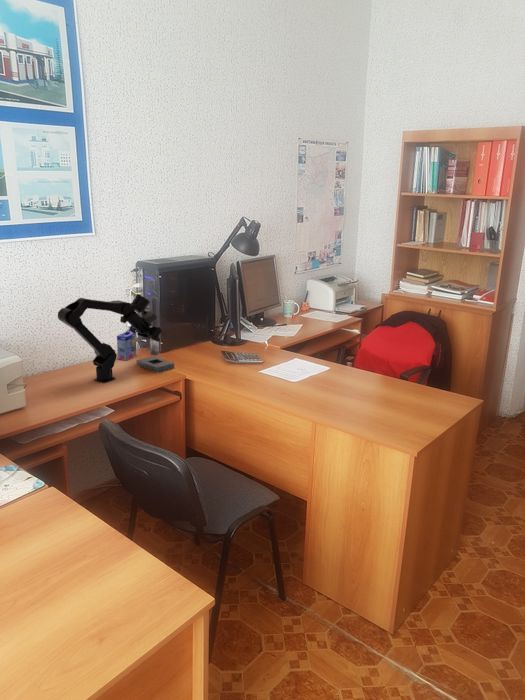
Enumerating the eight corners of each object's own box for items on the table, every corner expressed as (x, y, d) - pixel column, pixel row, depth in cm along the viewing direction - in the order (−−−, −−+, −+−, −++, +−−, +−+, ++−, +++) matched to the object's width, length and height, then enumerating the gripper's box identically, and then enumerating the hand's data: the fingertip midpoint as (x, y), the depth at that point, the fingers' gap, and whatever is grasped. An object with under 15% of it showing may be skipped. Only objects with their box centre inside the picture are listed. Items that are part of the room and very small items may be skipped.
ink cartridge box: (127, 360, 271) (125, 332, 267) (117, 359, 273) (115, 331, 269) (137, 355, 280) (135, 327, 276) (127, 354, 282) (126, 326, 278)
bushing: (155, 355, 259) (154, 328, 256) (148, 354, 261) (147, 327, 257) (160, 353, 263) (159, 326, 259) (154, 352, 264) (153, 325, 261)
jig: (156, 372, 255) (156, 367, 254) (136, 364, 265) (136, 359, 265) (174, 368, 262) (174, 363, 261) (154, 360, 272) (154, 355, 272)
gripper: (158, 309, 246) (178, 330, 257) (134, 303, 259) (154, 322, 269) (143, 330, 243) (165, 349, 254) (120, 322, 255) (141, 341, 266)
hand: (156, 340), depth 261 cm, fingers closed on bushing, 4 cm apart
